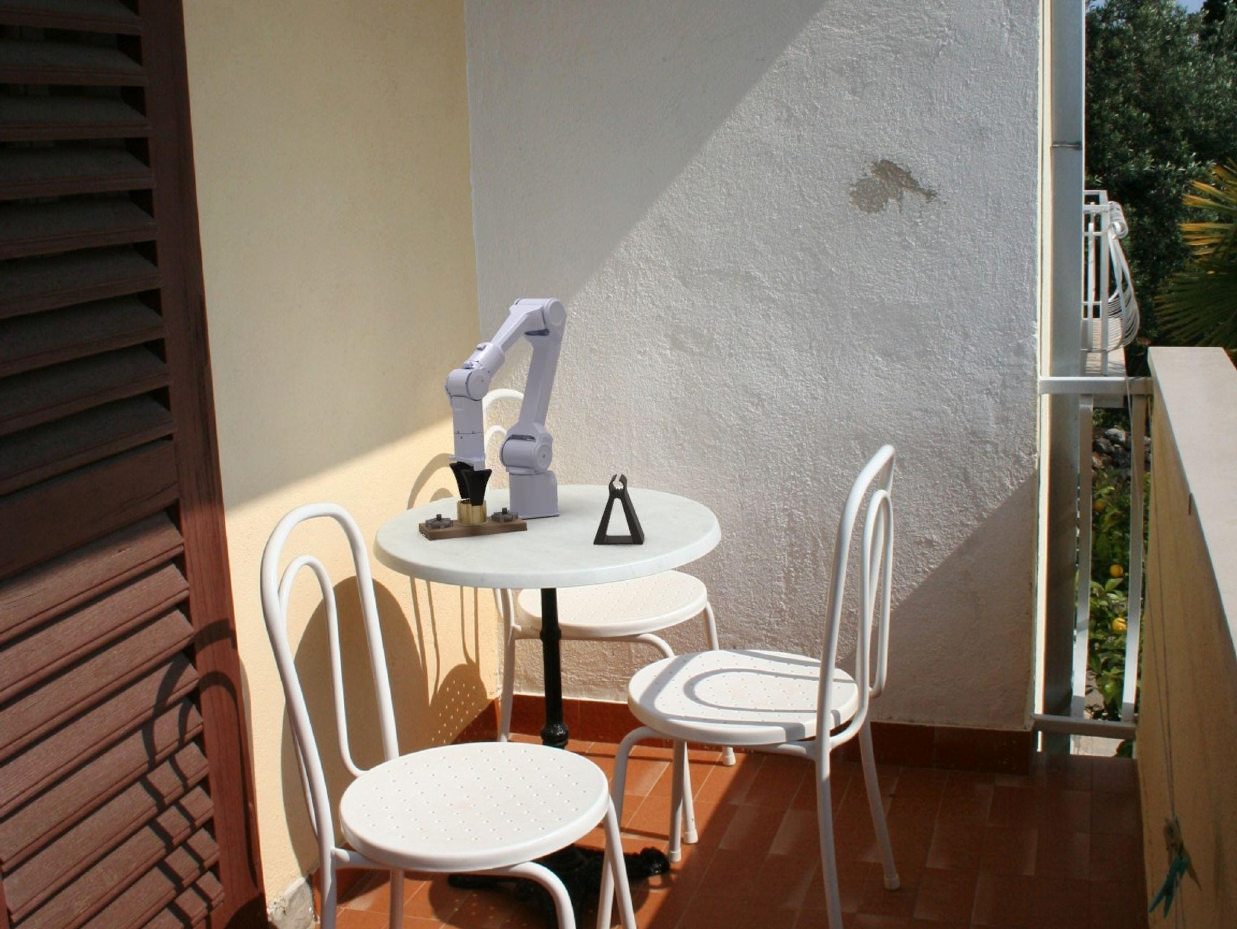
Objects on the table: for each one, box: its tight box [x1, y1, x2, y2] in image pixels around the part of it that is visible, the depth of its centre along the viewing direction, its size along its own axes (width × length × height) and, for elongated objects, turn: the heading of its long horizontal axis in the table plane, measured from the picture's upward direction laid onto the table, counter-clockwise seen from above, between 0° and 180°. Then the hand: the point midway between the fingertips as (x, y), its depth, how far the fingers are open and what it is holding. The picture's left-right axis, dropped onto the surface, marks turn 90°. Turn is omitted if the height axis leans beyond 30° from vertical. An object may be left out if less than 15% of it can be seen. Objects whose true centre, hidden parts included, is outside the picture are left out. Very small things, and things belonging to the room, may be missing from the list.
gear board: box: [418, 507, 528, 541], centre depth 236 cm, size 19×9×5 cm, turn 112°
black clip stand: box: [593, 473, 645, 546], centre depth 225 cm, size 9×6×12 cm, turn 85°
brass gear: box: [456, 499, 488, 525], centre depth 236 cm, size 6×6×4 cm
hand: (471, 502), depth 236 cm, fingers open, 7 cm apart
